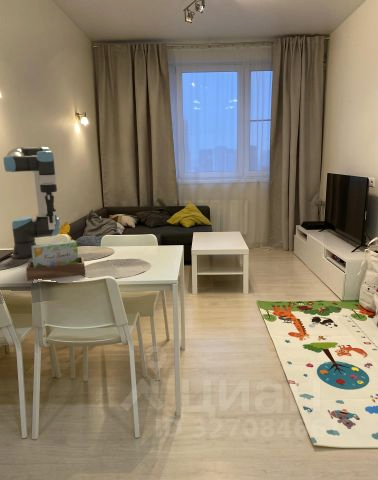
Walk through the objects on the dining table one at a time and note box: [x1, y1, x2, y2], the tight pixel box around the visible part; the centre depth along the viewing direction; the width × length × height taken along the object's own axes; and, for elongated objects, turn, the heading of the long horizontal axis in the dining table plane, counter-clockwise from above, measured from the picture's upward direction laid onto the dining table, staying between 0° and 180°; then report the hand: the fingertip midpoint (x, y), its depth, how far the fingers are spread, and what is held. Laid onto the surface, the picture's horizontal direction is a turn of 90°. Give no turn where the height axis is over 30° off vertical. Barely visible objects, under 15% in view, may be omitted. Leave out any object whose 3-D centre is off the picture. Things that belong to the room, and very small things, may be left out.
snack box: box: [31, 239, 79, 268], centre depth 186 cm, size 21×6×15 cm, turn 124°
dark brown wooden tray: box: [25, 256, 86, 282], centre depth 187 cm, size 14×27×6 cm, turn 108°
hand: (52, 226), depth 183 cm, fingers open, 13 cm apart
